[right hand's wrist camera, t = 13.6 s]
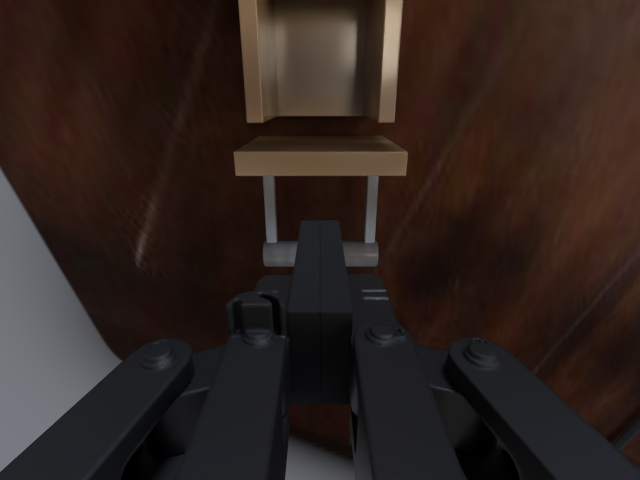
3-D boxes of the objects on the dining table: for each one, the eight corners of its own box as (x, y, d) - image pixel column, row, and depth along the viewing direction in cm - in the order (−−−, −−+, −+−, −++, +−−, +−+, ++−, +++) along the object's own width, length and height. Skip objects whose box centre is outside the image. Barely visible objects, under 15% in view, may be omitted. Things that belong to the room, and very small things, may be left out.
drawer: (376, 234, 28) (396, 284, 20) (265, 234, 28) (244, 284, 20) (404, -233, 18) (461, -460, 11) (236, -233, 18) (180, -459, 11)
